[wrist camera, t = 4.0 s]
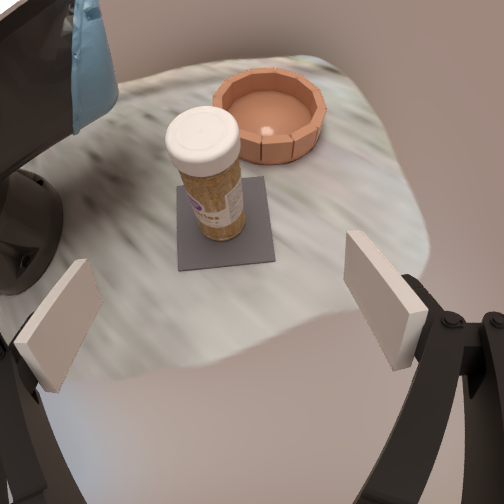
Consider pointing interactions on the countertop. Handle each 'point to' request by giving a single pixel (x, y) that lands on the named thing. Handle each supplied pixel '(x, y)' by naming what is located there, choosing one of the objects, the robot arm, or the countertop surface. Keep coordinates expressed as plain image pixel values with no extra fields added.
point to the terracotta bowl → (273, 114)
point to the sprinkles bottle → (209, 168)
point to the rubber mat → (235, 249)
